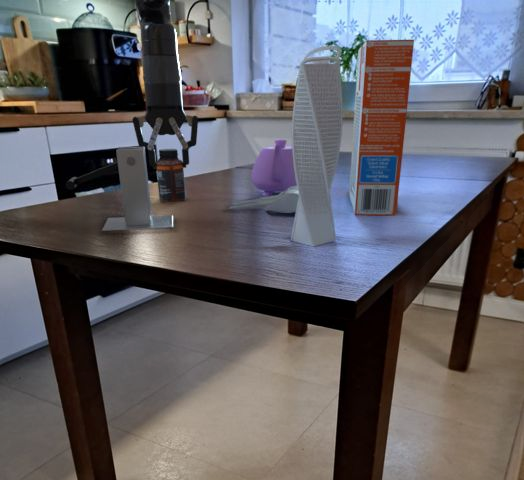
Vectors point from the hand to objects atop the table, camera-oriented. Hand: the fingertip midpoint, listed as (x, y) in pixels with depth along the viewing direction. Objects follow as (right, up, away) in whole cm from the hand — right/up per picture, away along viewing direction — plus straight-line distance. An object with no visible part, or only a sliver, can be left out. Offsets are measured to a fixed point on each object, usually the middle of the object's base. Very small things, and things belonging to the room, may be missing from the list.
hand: (169, 167), depth 113 cm
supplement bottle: (0, -7, +3) cm, 8 cm away
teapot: (+25, -2, +13) cm, 28 cm away
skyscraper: (+29, -22, -28) cm, 46 cm away
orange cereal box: (+44, -9, -1) cm, 45 cm away
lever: (-6, -10, -24) cm, 27 cm away
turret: (+23, -12, -7) cm, 27 cm away
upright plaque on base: (-2, -18, -20) cm, 27 cm away
